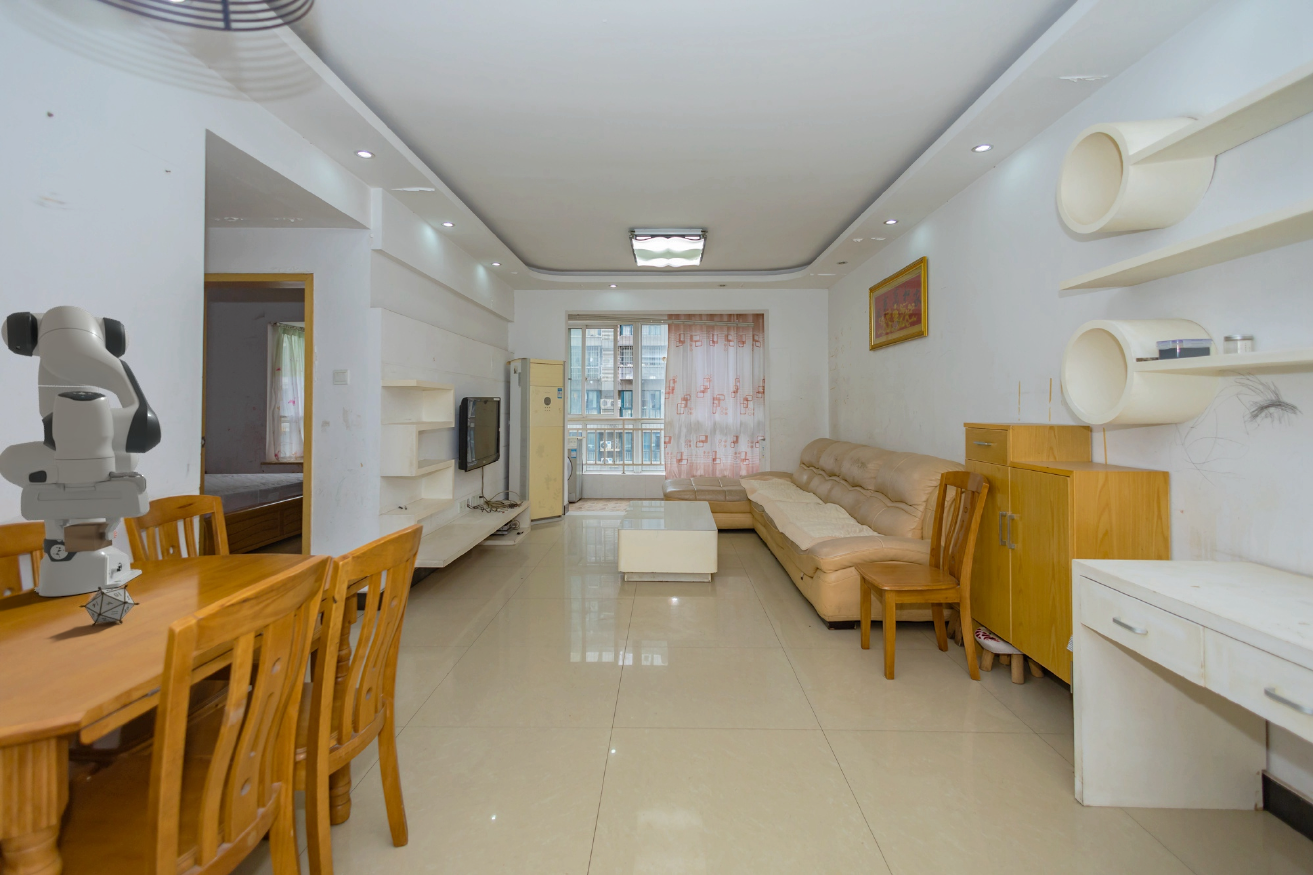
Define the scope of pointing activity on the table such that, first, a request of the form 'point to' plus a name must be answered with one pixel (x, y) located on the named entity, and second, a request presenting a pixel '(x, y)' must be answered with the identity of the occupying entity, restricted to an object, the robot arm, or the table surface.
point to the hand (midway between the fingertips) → (89, 540)
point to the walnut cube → (85, 537)
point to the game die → (109, 605)
